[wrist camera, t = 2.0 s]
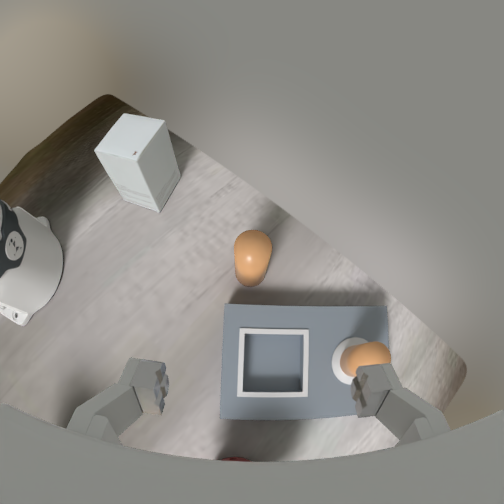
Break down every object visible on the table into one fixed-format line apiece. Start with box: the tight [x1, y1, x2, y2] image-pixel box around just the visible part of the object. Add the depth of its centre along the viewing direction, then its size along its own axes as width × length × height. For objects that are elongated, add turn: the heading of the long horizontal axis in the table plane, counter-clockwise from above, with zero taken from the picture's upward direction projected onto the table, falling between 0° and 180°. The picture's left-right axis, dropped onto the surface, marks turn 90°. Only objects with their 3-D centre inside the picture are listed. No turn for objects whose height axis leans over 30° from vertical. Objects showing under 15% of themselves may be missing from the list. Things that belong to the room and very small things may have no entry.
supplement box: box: [94, 113, 181, 213], centre depth 38 cm, size 7×7×13 cm
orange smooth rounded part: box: [234, 230, 272, 287], centre depth 35 cm, size 4×4×9 cm
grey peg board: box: [220, 304, 391, 420], centre depth 31 cm, size 21×14×9 cm, turn 88°
